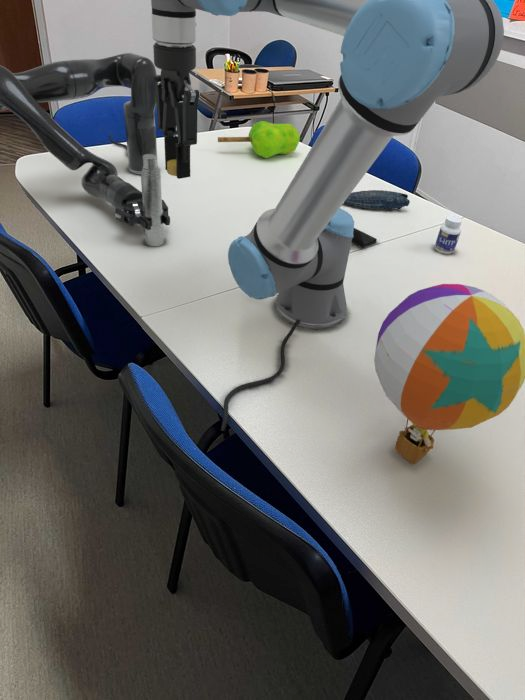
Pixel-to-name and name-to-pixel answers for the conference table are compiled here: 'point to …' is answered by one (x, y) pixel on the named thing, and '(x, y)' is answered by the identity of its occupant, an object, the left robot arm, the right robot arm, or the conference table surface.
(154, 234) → the bottle
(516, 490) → the conference table surface
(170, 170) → the cap
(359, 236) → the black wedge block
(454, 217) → the pill bottle
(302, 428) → the conference table surface
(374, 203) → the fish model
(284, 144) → the decorative tree
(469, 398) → the toy
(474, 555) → the conference table surface
